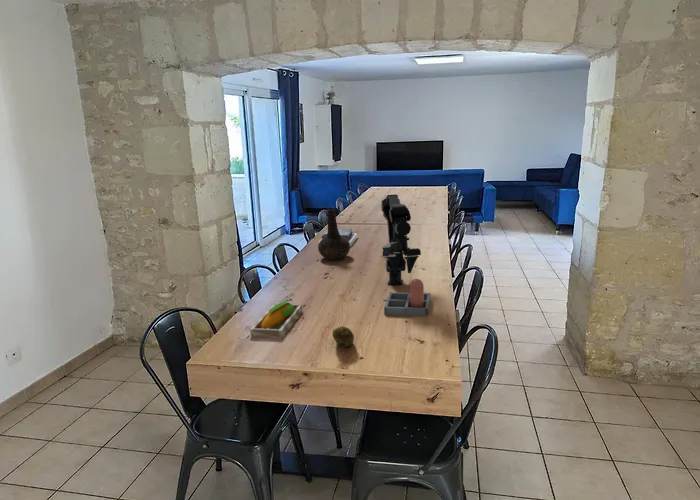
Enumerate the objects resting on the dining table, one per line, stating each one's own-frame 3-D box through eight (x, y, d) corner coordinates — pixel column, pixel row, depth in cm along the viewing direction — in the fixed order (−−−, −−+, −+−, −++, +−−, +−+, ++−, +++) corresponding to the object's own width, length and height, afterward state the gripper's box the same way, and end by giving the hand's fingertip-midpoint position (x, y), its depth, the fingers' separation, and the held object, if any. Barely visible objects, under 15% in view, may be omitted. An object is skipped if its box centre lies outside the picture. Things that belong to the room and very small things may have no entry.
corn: (297, 298, 192) (270, 317, 175) (300, 315, 194) (273, 336, 176) (281, 297, 195) (253, 316, 178) (284, 314, 197) (256, 335, 179)
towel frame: (327, 237, 320) (327, 233, 319) (357, 237, 315) (357, 233, 314) (318, 246, 298) (318, 242, 297) (350, 247, 294) (349, 242, 293)
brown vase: (351, 253, 280) (349, 205, 273) (348, 262, 263) (346, 211, 255) (321, 254, 282) (318, 206, 275) (316, 263, 265) (312, 212, 257)
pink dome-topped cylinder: (407, 309, 193) (406, 279, 190) (417, 306, 196) (417, 276, 192) (416, 313, 189) (415, 282, 185) (426, 310, 191) (426, 279, 188)
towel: (326, 239, 315) (325, 227, 313) (354, 238, 312) (353, 227, 310) (321, 245, 301) (320, 232, 299) (350, 244, 298) (349, 232, 296)
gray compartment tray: (389, 299, 207) (389, 292, 206) (430, 300, 203) (429, 293, 202) (384, 314, 191) (384, 307, 190) (427, 316, 187) (427, 308, 186)
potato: (359, 338, 172) (358, 317, 170) (352, 355, 160) (350, 332, 158) (336, 336, 174) (335, 316, 171) (327, 353, 161) (326, 331, 159)
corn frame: (274, 310, 201) (274, 303, 200) (302, 311, 198) (301, 304, 198) (251, 336, 177) (250, 329, 176) (282, 338, 175) (281, 330, 174)
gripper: (371, 237, 206) (373, 274, 206) (399, 235, 190) (401, 275, 190) (392, 236, 212) (394, 271, 212) (420, 234, 196) (422, 272, 196)
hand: (402, 272), depth 202 cm, fingers open, 9 cm apart
